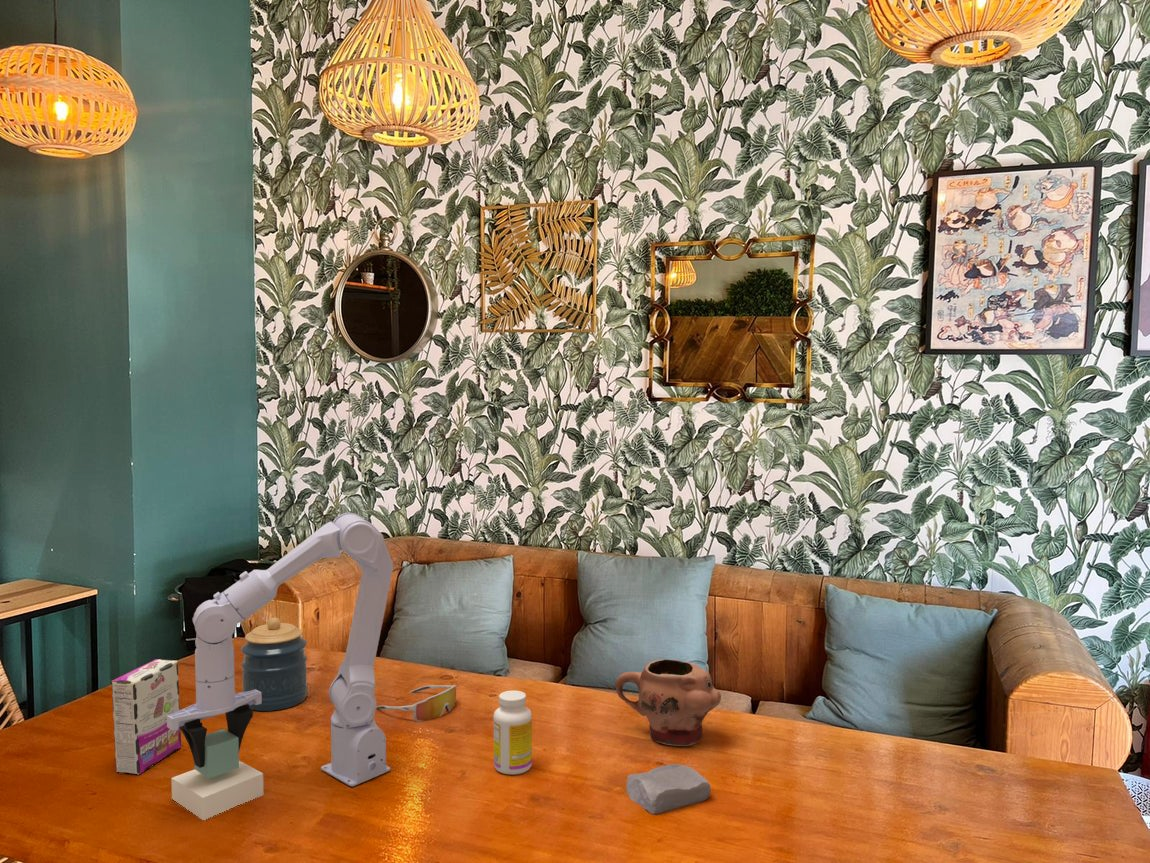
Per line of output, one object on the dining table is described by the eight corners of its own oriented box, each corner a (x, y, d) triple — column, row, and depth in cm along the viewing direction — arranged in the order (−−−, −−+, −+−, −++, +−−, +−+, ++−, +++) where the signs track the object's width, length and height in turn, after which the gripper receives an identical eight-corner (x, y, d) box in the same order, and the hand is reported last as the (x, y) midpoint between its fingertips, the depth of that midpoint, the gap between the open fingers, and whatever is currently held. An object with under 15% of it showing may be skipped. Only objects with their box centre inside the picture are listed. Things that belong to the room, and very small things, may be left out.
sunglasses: (424, 728, 160) (421, 702, 161) (369, 722, 168) (366, 697, 168) (470, 704, 172) (468, 680, 173) (417, 699, 180) (414, 677, 180)
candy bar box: (158, 745, 152) (155, 658, 151) (182, 747, 151) (180, 659, 150) (112, 773, 141) (110, 679, 140) (138, 776, 140) (135, 681, 139)
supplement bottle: (538, 763, 146) (538, 691, 145) (520, 779, 140) (520, 705, 139) (505, 755, 148) (505, 685, 148) (486, 771, 142) (486, 698, 142)
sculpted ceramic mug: (610, 746, 152) (610, 672, 151) (618, 720, 164) (618, 651, 163) (720, 755, 149) (721, 680, 148) (720, 727, 161) (721, 657, 160)
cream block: (263, 797, 134) (263, 773, 134) (203, 823, 126) (203, 797, 126) (230, 778, 140) (230, 755, 140) (172, 802, 132) (171, 777, 132)
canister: (262, 687, 181) (260, 608, 180) (318, 690, 179) (317, 610, 178) (229, 710, 168) (227, 625, 167) (289, 714, 166) (288, 628, 165)
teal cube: (239, 767, 133) (238, 737, 133) (208, 778, 129) (207, 747, 129) (224, 758, 136) (224, 728, 136) (194, 768, 133) (193, 738, 132)
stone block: (620, 802, 136) (653, 818, 127) (618, 772, 137) (651, 785, 128) (680, 789, 141) (715, 803, 133) (677, 759, 142) (713, 772, 133)
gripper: (246, 659, 140) (247, 737, 141) (157, 682, 129) (159, 767, 130) (267, 669, 135) (268, 749, 136) (177, 693, 124) (179, 781, 125)
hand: (217, 759), depth 133 cm, fingers closed on teal cube, 5 cm apart
